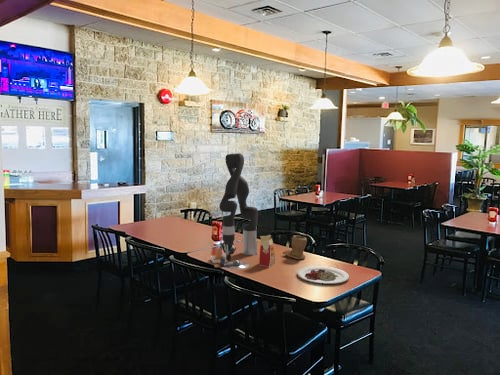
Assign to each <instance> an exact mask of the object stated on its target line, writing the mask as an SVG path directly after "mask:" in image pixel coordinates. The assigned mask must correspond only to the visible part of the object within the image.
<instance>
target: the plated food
mask: <svg viewBox="0 0 500 375" xmlns="http://www.w3.org/2000/svg"><path fill="white" fill-rule="evenodd" d="M296 273H297V276H298V277H299V278H301V279H302V280H303V281H304V280H305V281H307V282H310V283H316V284H322V283H323V284H325V285H326V284H329V285H332V284H340V283H344V282H347V281H348V280H349V277H350V275H349V274H348V273H347V272H346V270H345V271H344V270H342V269H339V268H336V267H331V266H327V265H326V266H325V265H309V266H305V267H301V268H300V269H298V270H297V272H296Z"/></svg>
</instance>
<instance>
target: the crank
mask: <svg viewBox="0 0 500 375" xmlns="http://www.w3.org/2000/svg"><path fill="white" fill-rule="evenodd" d="M225 257H226V256H225ZM225 257H221V258H220V263H219V264H220V266H219V267H221V268H226V267H225V266H240V262H241V261H240V260H232V262H233V263H228V262H227V263H228V264H225V263H226V262H225Z"/></svg>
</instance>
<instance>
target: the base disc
mask: <svg viewBox="0 0 500 375" xmlns="http://www.w3.org/2000/svg"><path fill="white" fill-rule="evenodd" d="M228 263H233V261H227V262H225V264H228ZM213 266H214V268H219V264H218V263H215V264H214V265H213ZM249 267H250V264H249V263H248V262H245V261H240V266H225V267H224V268H226V269H230V270H244V269H247V268H249Z"/></svg>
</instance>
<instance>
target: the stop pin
mask: <svg viewBox="0 0 500 375" xmlns="http://www.w3.org/2000/svg"><path fill="white" fill-rule="evenodd" d="M222 255H223V249H222V247H216V248H215V256H216V259H215V260H220V258H221V257H222Z"/></svg>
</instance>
